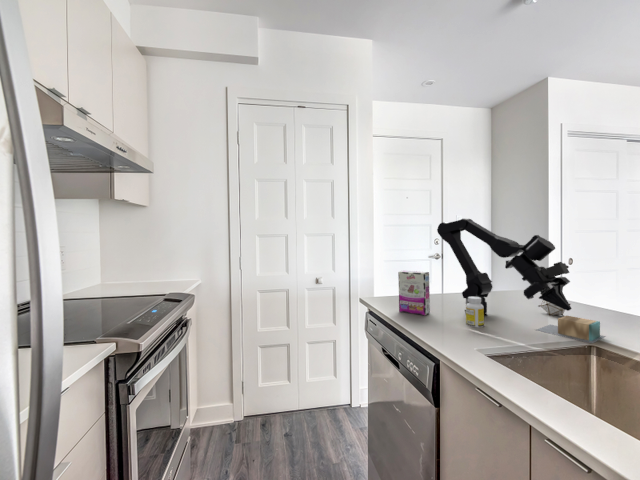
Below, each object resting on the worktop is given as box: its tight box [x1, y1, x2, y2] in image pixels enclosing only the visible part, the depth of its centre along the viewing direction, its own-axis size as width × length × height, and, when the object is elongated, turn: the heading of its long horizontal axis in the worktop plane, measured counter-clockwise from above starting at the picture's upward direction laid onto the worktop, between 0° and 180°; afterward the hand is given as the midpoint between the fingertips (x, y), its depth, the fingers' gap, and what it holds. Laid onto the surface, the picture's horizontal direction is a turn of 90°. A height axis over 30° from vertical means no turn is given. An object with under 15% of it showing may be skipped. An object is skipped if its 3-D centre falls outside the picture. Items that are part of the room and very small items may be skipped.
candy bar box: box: [397, 270, 431, 316], centre depth 122 cm, size 11×5×16 cm, turn 49°
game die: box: [538, 300, 572, 317], centre depth 113 cm, size 9×8×10 cm
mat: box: [535, 324, 606, 344], centre depth 93 cm, size 14×10×1 cm
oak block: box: [557, 315, 601, 341], centre depth 91 cm, size 4×6×8 cm
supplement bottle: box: [465, 297, 485, 328], centre depth 103 cm, size 5×5×10 cm
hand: (569, 309), depth 92 cm, fingers closed
